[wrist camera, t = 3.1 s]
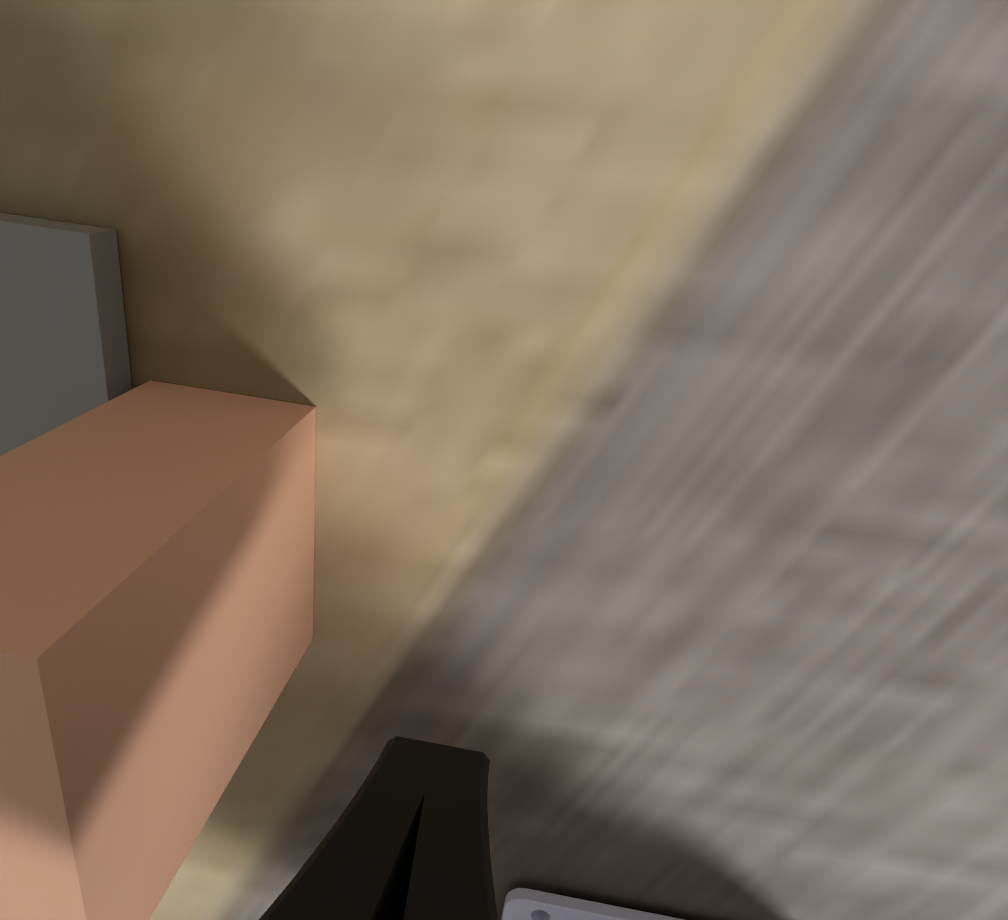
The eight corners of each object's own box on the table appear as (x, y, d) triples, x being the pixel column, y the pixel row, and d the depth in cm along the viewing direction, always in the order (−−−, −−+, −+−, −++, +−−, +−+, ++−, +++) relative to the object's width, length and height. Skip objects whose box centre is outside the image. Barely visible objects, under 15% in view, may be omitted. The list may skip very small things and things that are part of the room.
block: (315, 406, 15) (36, 659, 7) (312, 638, 17) (101, 1000, 10) (150, 380, 15) (-284, 599, 7) (170, 612, 17) (-141, 948, 10)
